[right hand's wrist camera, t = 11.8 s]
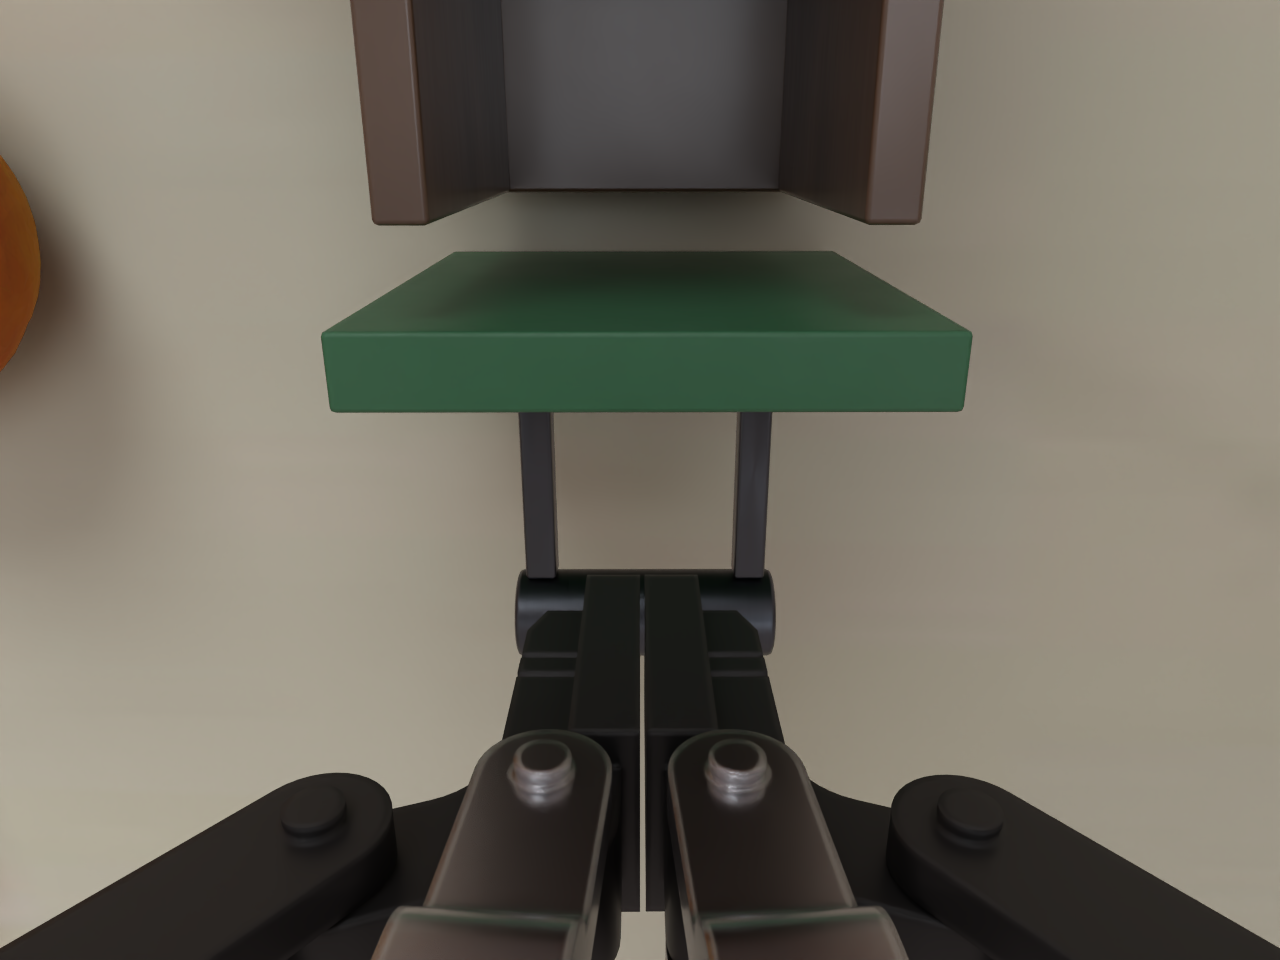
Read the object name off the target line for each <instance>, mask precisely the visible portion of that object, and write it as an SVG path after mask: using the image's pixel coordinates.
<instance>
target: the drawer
mask: <svg viewBox="0 0 1280 960" xmlns="http://www.w3.org/2000/svg"><path fill="white" fill-rule="evenodd" d="M350 5H351V15H352V24H353V34H354V44H355V54H356V64H357V74H358V84H359V94H360V104H361V114H362V124H363V134H364V144H365V154H366V164H367V173H368V183H369V193H370V203H371V213H372V220H373V222H374V224H376V225H427V224H429V223H432V222H434V221H437V220H439V219H442V218H444V217H447V216H449V215H452V214H454V213H457V212H459V211H462V210H464V209H467V208H469V207H472V206H474V205H477V204H479V203H482V202H484V201H487V200H489V199H492V198H494V197H497V196H499V195H502V194H504V193H506V192H783V193H786V194H788V195H791V196H794V197H797V198H799V199H802V200H805V201H807V202H810V203H813V204H815V205H818V206H821V207H823V208H826V209H829V210H831V211H834V212H837V213H839V214H842V215H845V216H847V217H850V218H853V219H855V220H858V221H861V222H863V223H866V224H869V225H915V224H917V223H919V222H920V220H921V218H922V208H923V199H924V189H925V179H926V170H927V160H928V150H929V140H930V131H931V121H932V111H933V102H934V92H935V82H936V73H937V63H938V53H939V44H940V34H941V24H942V15H943V5H944V0H350ZM972 337H973V336H972V332H971V331H969V330H967V329H965V328H964V327H962V326H960V325H959V324H957V323H955V322H953V321H952V320H950V319H948V318H947V317H945V316H943V315H941V314H940V313H938V312H936V311H935V310H933V309H931V308H929V307H928V306H926V305H924V304H923V303H921V302H919V301H917V300H916V299H914V298H912V297H911V296H909V295H907V294H905V293H904V292H902V291H900V290H898V289H897V288H895V287H893V286H892V285H890V284H888V283H886V282H885V281H883V280H881V279H880V278H878V277H876V276H874V275H873V274H871V273H869V272H868V271H866V270H864V269H862V268H861V267H859V266H857V265H856V264H854V263H852V262H850V261H849V260H847V259H845V258H844V257H842V256H840V255H838V254H837V253H835V252H833V251H710V252H454V253H452V254H451V255H449V256H447V257H446V258H444V259H442V260H441V261H439V262H437V263H436V264H434V265H433V266H431V267H429V268H428V269H426V270H424V271H423V272H421V273H419V274H418V275H416V276H414V277H413V278H411V279H410V280H408V281H406V282H405V283H403V284H401V285H400V286H398V287H396V288H395V289H393V290H392V291H390V292H388V293H387V294H385V295H383V296H382V297H380V298H378V299H377V300H375V301H374V302H372V303H370V304H369V305H367V306H365V307H364V308H362V309H360V310H359V311H357V312H355V313H354V314H352V315H351V316H349V317H347V318H346V319H344V320H342V321H341V322H339V323H337V324H336V325H334V326H333V327H331V328H329V329H328V330H326V331H324V332H323V333H322V335H321V341H322V349H323V357H324V365H325V373H326V381H327V389H328V397H329V405H330V409H331V411H333V412H336V413H403V412H518V414H519V434H520V454H521V474H522V494H523V514H524V534H525V554H526V569H524V570H522V571H521V572H520V574H519V577H518V581H517V588H516V599H515V635H516V644H517V648H518V651H519V653H520V654H521V655H522V651H523V647H524V643H525V638H526V634H527V630H528V629H529V628H530V627H531V626H532V625H533V624H534V623H535V622H536V621H537V620H538V619H539V618H540V617H541V616H542V615H544V614H545V613H546V612H547V611H583V603H584V595H585V587H586V579H587V575H640V655H644V631H645V575H698V581H699V588H700V596H701V603H702V610H737V611H738V612H739V613H740V614H741V615H742V616H743V617H744V618H745V619H747V620H748V621H749V622H750V623H751V624H752V625H753V626H754V627H755V628H756V629H757V630H758V634H759V639H760V643H761V647H762V651H763V655H769V654H771V652H772V649H773V646H774V641H775V629H776V606H775V592H774V585H773V580H772V576H771V574H770V572H769V570H766V569H764V562H765V543H766V523H767V504H768V485H769V465H770V446H771V427H772V412H958V411H961V410H962V409H963V407H964V400H965V392H966V384H967V376H968V368H969V361H970V353H971V345H972ZM553 412H737V430H736V456H735V483H734V509H733V536H732V563H731V566H732V569H558V567H559V559H558V531H557V503H556V476H555V448H554V420H553Z"/></svg>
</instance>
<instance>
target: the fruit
mask: <svg viewBox="0 0 1280 960" xmlns="http://www.w3.org/2000/svg"><path fill="white" fill-rule="evenodd" d="M40 268H41V260H40V250H39V243H38V237H37V231H36V225H35V221H34V218H33V215H32V212H31V209H30V206H29V204H28V201H27V198H26V196H25V194H24V192H23V190H22V188H21V186H20V184H19V182H18V180H17V179H16V177H15V175H14V173H13V172H12V171H11V169H10V168H9V166H8V165H7V164H6V162H5V161H4V159H3V158H2V157H1V156H0V372H1V370H2V369H3V368H4V367H5V365H6V364H7V363H8V361H9V360H10V359H11V357H12V356H13V355H14V354H15V352H16V350H17V348H18V345H19V343H20V341H21V339H22V337H23V335H24V333H25V330H26V327H27V325H28V323H29V321H30V319H31V317H32V315H33V311H34V307H35V304H36V301H37V298H38V294H39V286H40Z"/></svg>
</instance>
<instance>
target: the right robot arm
mask: <svg viewBox="0 0 1280 960" xmlns="http://www.w3.org/2000/svg"><path fill="white" fill-rule="evenodd" d="M644 721H645V849H646V911H665V932H666V957H665V960H1280V948H1278V947H1277V946H1275V945H1273V944H1271V943H1270V942H1268V941H1266V940H1264V939H1263V938H1261V937H1259V936H1257V935H1256V934H1254V933H1252V932H1251V931H1249V930H1247V929H1245V928H1244V927H1242V926H1240V925H1238V924H1237V923H1235V922H1233V921H1231V920H1230V919H1228V918H1226V917H1225V916H1223V915H1221V914H1219V913H1218V912H1216V911H1214V910H1212V909H1211V908H1209V907H1207V906H1205V905H1204V904H1202V903H1200V902H1199V901H1197V900H1195V899H1193V898H1192V897H1190V896H1188V895H1186V894H1185V893H1183V892H1181V891H1179V890H1178V889H1176V888H1174V887H1173V886H1171V885H1169V884H1167V883H1166V882H1164V881H1162V880H1160V879H1159V878H1157V877H1155V876H1153V875H1152V874H1150V873H1148V872H1147V871H1145V870H1143V869H1141V868H1140V867H1138V866H1136V865H1134V864H1133V863H1131V862H1129V861H1127V860H1126V859H1124V858H1122V857H1121V856H1119V855H1117V854H1115V853H1114V852H1112V851H1110V850H1108V849H1107V848H1105V847H1103V846H1101V845H1100V844H1098V843H1096V842H1095V841H1093V840H1091V839H1089V838H1088V837H1086V836H1084V835H1082V834H1081V833H1079V832H1077V831H1075V830H1074V829H1072V828H1070V827H1069V826H1067V825H1065V824H1063V823H1062V822H1060V821H1058V820H1056V819H1055V818H1053V817H1051V816H1049V815H1048V814H1046V813H1044V812H1043V811H1041V810H1039V809H1037V808H1036V807H1034V806H1032V805H1030V804H1029V803H1027V802H1025V801H1023V800H1022V799H1020V798H1018V797H1017V796H1015V795H1013V794H1011V793H1010V792H1008V791H1006V790H1004V789H1002V788H1000V787H998V786H995V785H993V784H990V783H988V782H985V781H981V780H978V779H974V778H970V777H964V776H957V775H933V776H927V777H923V778H919V779H916V780H914V781H912V782H910V783H908V784H906V785H905V786H904V787H902V788H901V789H900V790H899V791H898V793H897V794H896V795H895V797H894V799H893V802H892V806H891V808H889V807H885V806H881V805H876V804H872V803H867V802H863V801H859V800H855V799H851V798H847V797H844V796H841V795H838V794H836V793H833V792H831V791H829V790H827V789H825V788H823V787H821V786H819V785H817V784H816V783H814V782H813V781H811V780H810V779H809V777H808V774H807V772H806V769H805V767H804V765H803V763H802V761H801V759H800V758H799V757H798V756H797V754H796V753H795V752H794V751H793V750H791V749H790V748H789V747H788V746H786V745H785V743H784V739H783V734H782V730H781V726H780V722H779V718H778V714H777V709H776V705H775V701H774V697H773V693H772V689H771V684H770V680H769V677H768V675H767V668H766V664H765V659H764V657H763V651H762V647H761V643H760V639H759V634H758V630H757V629H756V628H755V627H754V626H753V625H752V624H751V623H750V622H749V621H748V620H747V619H745V618H744V617H743V616H742V615H741V614H740V613H739V612H738V611H737V610H702V603H701V596H700V588H699V581H698V575H645V631H644ZM621 912H640V575H587V579H586V587H585V595H584V603H583V611H547V612H546V613H545V614H544V615H542V616H541V617H540V618H539V619H538V620H537V621H536V622H535V623H534V624H533V625H532V626H531V627H530V628H529V629H528V630H527V634H526V638H525V643H524V647H523V651H522V658H521V660H520V664H519V669H518V677H516V682H515V686H514V691H513V695H512V699H511V704H510V708H509V712H508V717H507V721H506V725H505V730H504V734H503V738H502V741H500V742H498V743H497V744H495V745H494V746H492V747H491V748H490V749H489V750H487V751H486V752H485V753H484V754H483V756H482V757H481V758H480V759H479V761H478V763H477V765H476V767H475V769H474V772H473V774H472V777H471V780H470V782H469V785H468V786H466V787H464V788H462V789H460V790H459V791H457V792H454V793H451V794H449V795H446V796H444V797H440V798H437V799H433V800H429V801H425V802H421V803H416V804H412V805H407V806H403V807H399V808H394V809H392V802H391V799H390V797H389V794H388V793H387V792H386V790H385V789H384V788H383V787H382V786H381V785H380V784H378V783H377V782H375V781H373V780H371V779H370V778H367V777H364V776H361V775H356V774H350V773H326V774H319V775H314V776H309V777H306V778H302V779H299V780H296V781H293V782H291V783H288V784H286V785H284V786H282V787H280V788H278V789H276V790H274V791H272V792H270V793H269V794H267V795H265V796H264V797H262V798H260V799H258V800H257V801H255V802H253V803H251V804H250V805H248V806H246V807H244V808H243V809H241V810H239V811H238V812H236V813H234V814H232V815H231V816H229V817H227V818H225V819H224V820H222V821H220V822H218V823H217V824H215V825H213V826H212V827H210V828H208V829H206V830H205V831H203V832H201V833H199V834H198V835H196V836H194V837H192V838H191V839H189V840H187V841H186V842H184V843H182V844H180V845H179V846H177V847H175V848H173V849H172V850H170V851H168V852H166V853H165V854H163V855H161V856H160V857H158V858H156V859H154V860H153V861H151V862H149V863H147V864H146V865H144V866H142V867H140V868H139V869H137V870H135V871H133V872H132V873H130V874H128V875H127V876H125V877H123V878H121V879H120V880H118V881H116V882H114V883H113V884H111V885H109V886H107V887H106V888H104V889H102V890H101V891H99V892H97V893H95V894H94V895H92V896H90V897H88V898H87V899H85V900H83V901H81V902H80V903H78V904H76V905H75V906H73V907H71V908H69V909H68V910H66V911H64V912H62V913H61V914H59V915H57V916H55V917H54V918H52V919H50V920H49V921H47V922H45V923H43V924H42V925H40V926H38V927H36V928H35V929H33V930H31V931H29V932H28V933H26V934H24V935H23V936H21V937H19V938H17V939H16V940H14V941H12V942H10V943H9V944H7V945H5V946H3V947H2V948H0V960H615V958H616V956H617V953H618V950H619V947H620V939H621Z"/></svg>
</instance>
